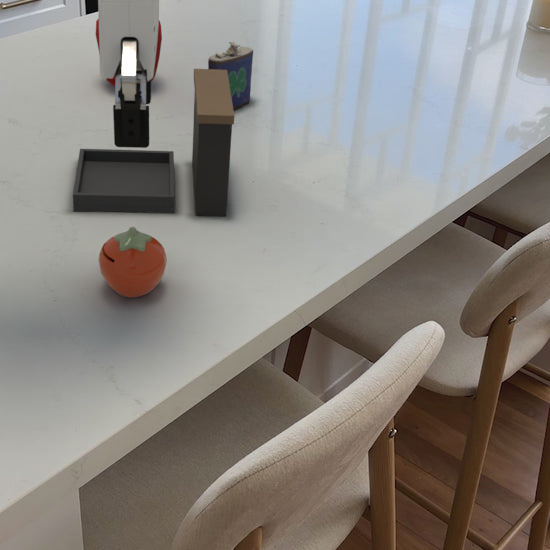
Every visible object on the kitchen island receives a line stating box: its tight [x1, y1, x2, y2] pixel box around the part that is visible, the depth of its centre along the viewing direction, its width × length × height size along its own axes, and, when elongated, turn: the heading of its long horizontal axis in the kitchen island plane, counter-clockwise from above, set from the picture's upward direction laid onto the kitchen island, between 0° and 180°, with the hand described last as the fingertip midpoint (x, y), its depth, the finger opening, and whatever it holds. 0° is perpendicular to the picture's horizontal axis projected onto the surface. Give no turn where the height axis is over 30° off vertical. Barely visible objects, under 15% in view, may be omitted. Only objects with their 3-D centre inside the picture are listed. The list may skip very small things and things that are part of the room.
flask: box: [207, 41, 254, 111], centre depth 139 cm, size 9×3×11 cm, turn 139°
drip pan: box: [72, 148, 176, 214], centre depth 118 cm, size 13×13×2 cm
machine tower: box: [191, 68, 235, 217], centre depth 116 cm, size 4×14×14 cm, turn 6°
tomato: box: [98, 226, 168, 299], centre depth 97 cm, size 7×7×8 cm
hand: (133, 123), depth 87 cm, fingers open, 9 cm apart
